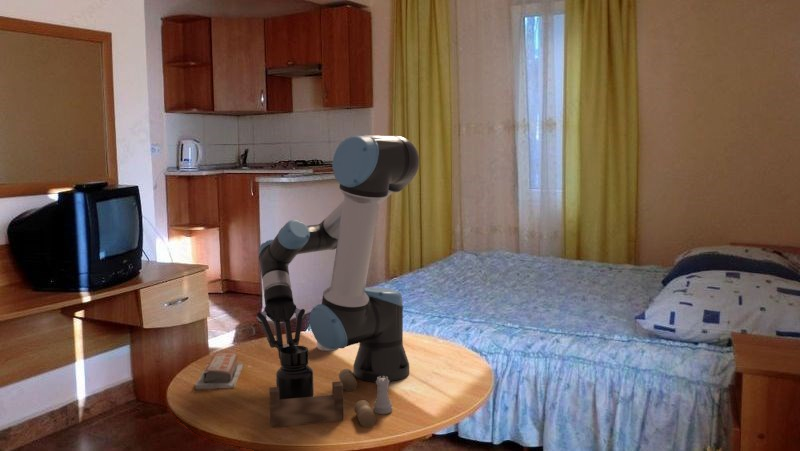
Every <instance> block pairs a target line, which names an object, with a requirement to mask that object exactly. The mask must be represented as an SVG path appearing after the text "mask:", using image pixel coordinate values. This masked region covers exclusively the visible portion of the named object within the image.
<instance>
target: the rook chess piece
mask: <svg viewBox="0 0 800 451" xmlns="http://www.w3.org/2000/svg"><path fill="white" fill-rule="evenodd" d="M390 382H391V381H389V380H388V377H387V376H386V378H385V376H383V378H381V376H379V377H377V380H376V382H375V383H376V385H377V387H376V390H377V392H376V399H375V401H374V403H373V409H372V411H373V413H374V414H378V415H387V414H391V413H392V411H393V403H392V402H391V400H390V397H389V384H390Z"/></svg>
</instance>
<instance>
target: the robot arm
mask: <svg viewBox="0 0 800 451" xmlns="http://www.w3.org/2000/svg"><path fill="white" fill-rule="evenodd" d="M419 156H420V155H419V153H418V150H417V148H416V146H415V145H414V143H413V142H412V141H410V140H409V139H407V138H405V137H403V136H401V135H392V134H391V135H378V134H375V135H374V134H373V135H372V134H371V135H370V134H360V135H353V136H349V137H347V138H345V139H343V140H342V141H341V142H339V144H338V146H337V147H336V149H335V151H334V154H333V159H332V163H331V164H332V166H331V167H332V171H333V172H334V174H333V175H334V178H335V180H336V181H337V183H339V188H338V189H339V190H340V192H341V193H342V194H343V200H342V201H341V203H340V204H338V205H337V206H336V207H335V209H333V211H331V212H330V213H329V215H327V216H326V217H325V218H324V219H323V220H322V221H321V222H320V223H318V224H312V225H307V224H306V223H304V222H303V221H299V220H297V219H291V220H289V221H287V222H286V223H285V224H284V225H283V226H282V227H281V228H280V229H279V231H278V233H277V234H276V236H275V237H274V238H273V239H268V240H266V241H265V242H262V243H261V244H260V246H259V248H258V262H259V266H260V268H259V269H260V274H261V281H262V287H263V288H262V289H263V298H264V308H263V311H262V312H257V313H256V320H257V322H258V323H259V324H260V325H261V328H262V330H263V333H264V334H265V337H266V340H267V341H268V345H269V346H270V348H272V349H273V348H275V349H277V352H278V359H279V360H280V349H282V348H284V347H287V346H299V343H300V339H301V329H302V322H303V319H304V318H305V312H306V310H305V309H304V308H297V305H296V304H295V303H294V302H295V301H294V297H293V290H292V283H291V277H290V271H289V270H290V269H289V265H290V264H291V262H292V261H294V259H295V258H296V257H297V255H298V256H299V255H302V254H309V253H315V252H323V251H334V250H335V255H334V263H333V268H332V274H331V280H330V281H331V282H330V286H329V287H327V288H326V289H324V291H323V292H322V300H321V303H320V304H316V305H315V306H314V307H312V309H311V311H310V313H309V325H310V329H311V333H312V334H313V336H314V338H315V340H316V342H317V341H318V343H319V344H320V345H321V346H323V347H324V348H326V349H330V351H335V350H334V349H336V350H338V349H345V347H350V346H353V345H356V344H359V345H358V346H359V347H358V350H357V352H356V356H355V360H354V363H353V368H352V369H353V372H352V373H353V375H354V377H355V378H357V379H359V380H362V381H366V382H371V383H376V380H377V377H379V376H381V378H383V376H385V378H386V376H387V377H388V380H389V381H390V382H394V380H396V381H399V379H400V380H401V379H402V380H403V379H405V378H406V377H408V376H409V375H410V362H409V359H408V357H407V354H406V351H405V347H404V344H403V343H404V341H403V339H404V338H403V337H404V336H403V335H404V334H403V333H404V329H403V328H404V323H403V322H404V321H403V320H404V310H403V309H404V305H403V296H402V293H401V292H400V291H398V290H395V289H391V288H387V287H386V288H384V287H370V286H369V287H367V286H366V285H367V280H368V275H369V274H368V272H369V269H370V268H369V267H370V262H371V257H372V249H373V243H374V239H375V234H376V233H375V232H376V228H377V227H376V226H377V222H378V221H377V220H378V215H379V209H380V205H381V204H382V203H383V202H384V201H386V199H387V198H389V197H390V196H391V195H392V194H394V193H399V192H401V191H402V190H403V189H404V188H405V187H407V186H408V185H409V184H410V183H411V182H412V181H413V179H414V178H415V176H416V174H417V173H418V170H419V166H420V157H419ZM294 314H295V317H296V318H297V319H296V324H295V332H294V333H295V334H294V338H293V333H292V332H293V331H292V327H291V319H292V318H293V316H294ZM267 317H268V318H269V319H270V320H271V321H272V322H273V326H274V332H275V336H274V334H273V332H272V328H271V326H270V325H269V324H270V323H269V322H268V320H267V319H268V318H267ZM281 323H283V326H284V332H285V339H286V344H284V342H283V334H282V327H281V325H282V324H281ZM275 338H276V339H275Z"/></svg>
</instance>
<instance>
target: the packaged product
mask: <svg viewBox="0 0 800 451" xmlns="http://www.w3.org/2000/svg"><path fill="white" fill-rule="evenodd" d="M237 362H238V355H237V353H234V352H218V353H214V354H213V355H212V357H211V358H210V361H209V362H208V363H207V364H206V366H205V367H204V369H203V371H202V372H201V374H200V376H199V378H197V380H196V382H195V384H194V387H195V390H214V389H217V388H219V389H234V388H235V387H236V385H237V381H238V379H239V377H240V375H241V372H242V369H243V367H244V364H245V363H244V362H241V363H239V362H238V363H237ZM217 390H218V389H217Z"/></svg>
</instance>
